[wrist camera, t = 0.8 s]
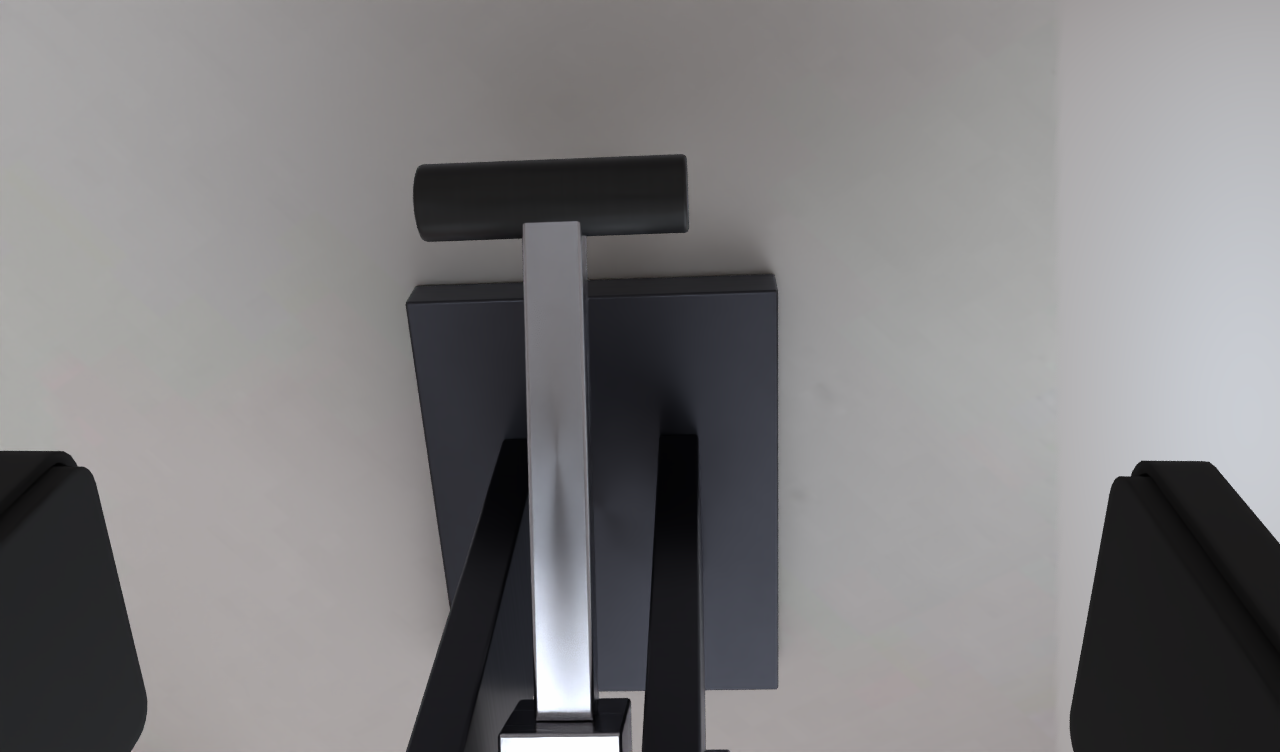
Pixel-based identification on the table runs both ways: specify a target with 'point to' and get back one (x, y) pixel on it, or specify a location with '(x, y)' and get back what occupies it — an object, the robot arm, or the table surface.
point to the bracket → (608, 498)
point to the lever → (558, 398)
